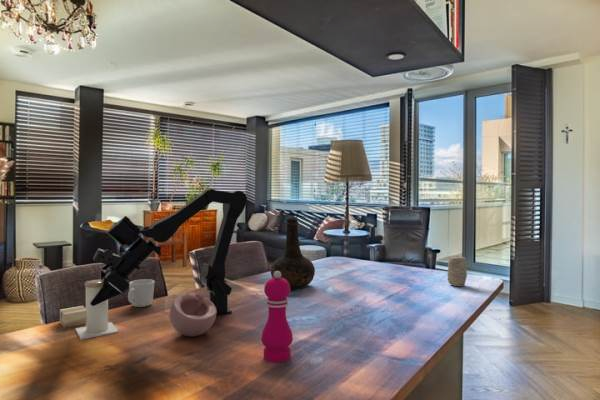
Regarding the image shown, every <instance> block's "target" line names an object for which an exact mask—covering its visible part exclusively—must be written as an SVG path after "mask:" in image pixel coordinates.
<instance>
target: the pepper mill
mask: <svg viewBox="0 0 600 400" xmlns="http://www.w3.org/2000/svg"><path fill="white" fill-rule="evenodd" d="M263 291H264V292H263V293H264V294H265V296H266V297H267V298H266V306H267V308H268V316H267V321H266V322H265V325H264V327H263V330H262V334H261V343H262V345H263V346H264V347H265V348H263V359H264V360H265V361H266V362H271V363H283V362H287V361H289V360H290V359H291V348H290V346H291V345H292V343H293V340H294V338H293V332H292V329H291V326H290V325H289V322H288V319H287V312H286V310H287V306H288V305H289V299H288V296H289V295H290V292H291V289H290V285H289V283H288V281H287V280H286V279H284V278H281V273H280V272H279V271H275V272H274V278H272V277H271V278H269V279H268V280H267V281H266V282H265V284H264V289H263Z"/></svg>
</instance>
